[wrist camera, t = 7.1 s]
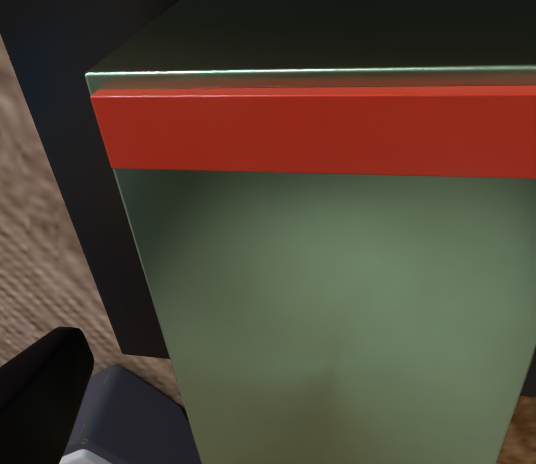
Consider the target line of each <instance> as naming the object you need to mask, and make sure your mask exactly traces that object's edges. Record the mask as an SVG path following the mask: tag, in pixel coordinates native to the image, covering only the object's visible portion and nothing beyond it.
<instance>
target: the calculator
mask: <svg viewBox="0 0 536 464" xmlns="http://www.w3.org/2000/svg"><path fill="white" fill-rule="evenodd" d="M59 464H202V463H201V459H200V456H199V453H198V449H197V446H196V443H195V440H194V436H193V433H192V430H191V426H190V424H189V423H188V421H187V419H186V417H185V415H184V413H183V411H182V409H181V407H180V406H179V405H178V404H177V403H175V402H174V401H172V400H171V399H169V398H168V397H166V396H165V395H163V394H162V393H160V392H159V391H157V390H156V389H154V388H153V387H152V386H150V385H149V384H147V383H146V382H144V381H143V380H141V379H140V378H138V377H137V376H135V375H134V374H132V373H131V372H129V371H128V370H126V369H125V368H123V367H121V366H117V365H113V366H110V367H108V368H106V369H104V370H103V371H101V372H99V373H97V374H95V375H93V376H92V377H90V380H89V383H88V386H87V389H86V392H85V395H84V398H83V401H82V404H81V407H80V410H79V413H78V415H77V418H76V421H75V424H74V427H73V430H72V433H71V436H70V439H69V441H68V444H67V447H66V449H65V452H64V454H63V456H62V459H61V461H60V463H59Z"/></svg>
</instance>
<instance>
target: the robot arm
mask: <svg viewBox="0 0 536 464" xmlns="http://www.w3.org/2000/svg"><path fill="white" fill-rule="evenodd" d="M93 367H94V358H93V354H92V352H91V350H90V347H89V345H88V343H87V340H86V338H85V336H84V334H83V332H82V331H81V330H80V329H79V328H73V327H57V328H55V329H54V330H52V331H51V332H49V333H48V334H46V335H45V336H44V337H42V338H41V339H39V340H38V341H36V342H35V343H34V344H32V345H31V346H29V347H28V348H27V349H25V350H24V351H22V352H21V353H20V354H18V355H17V356H15V357H14V358H12V359H11V360H10V361H8V362H7V363H5V364H4V365H3V366H1V367H0V464H59V463H60V461H61V459H62V456H63V454H64V452H65V449H66V447H67V444H68V441H69V439H70V436H71V433H72V430H73V427H74V424H75V421H76V418H77V415H78V413H79V410H80V407H81V404H82V401H83V398H84V395H85V392H86V389H87V386H88V383H89V380H90V377H91V374H92V371H93Z"/></svg>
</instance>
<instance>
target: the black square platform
mask: <svg viewBox="0 0 536 464" xmlns="http://www.w3.org/2000/svg"><path fill="white" fill-rule="evenodd" d="M179 1H180V0H0V34H1V37H2V39H3V42H4V45H5V47H6V50H7V52H8V55H9V58H10V60H11V63H12V66H13V68H14V71H15V73H16V76H17V79H18V81H19V84H20V87H21V89H22V92H23V94H24V97H25V100H26V102H27V105H28V108H29V110H30V113H31V115H32V118H33V121H34V123H35V126H36V129H37V131H38V134H39V136H40V139H41V142H42V144H43V147H44V149H45V152H46V155H47V157H48V160H49V163H50V165H51V168H52V170H53V173H54V176H55V178H56V181H57V184H58V186H59V189H60V191H61V194H62V197H63V199H64V202H65V205H66V207H67V210H68V212H69V215H70V218H71V220H72V223H73V226H74V228H75V231H76V233H77V236H78V239H79V241H80V244H81V246H82V249H83V252H84V254H85V257H86V260H87V262H88V265H89V267H90V270H91V273H92V275H93V278H94V281H95V283H96V286H97V288H98V291H99V294H100V296H101V299H102V302H103V304H104V307H105V309H106V312H107V315H108V317H109V320H110V323H111V325H112V328H113V330H114V333H115V336H116V338H117V341H118V343H119V346H120V349H121V351H122V353H123V354H128V355H137V356H147V357H156V358H166V359H170V357H169V353H168V350H167V347H166V343H165V340H164V337H163V333H162V330H161V327H160V324H159V320H158V317H157V314H156V310H155V307H154V304H153V300H152V297H151V294H150V290H149V287H148V284H147V280H146V277H145V274H144V271H143V267H142V264H141V261H140V257H139V254H138V251H137V247H136V244H135V241H134V237H133V234H132V231H131V227H130V224H129V221H128V217H127V214H126V211H125V208H124V204H123V201H122V198H121V194H120V191H119V188H118V184H117V181H116V178H115V174H114V171H113V168H112V167H111V164H110V161H109V158H108V155H107V151H106V148H105V145H104V141H103V138H102V135H101V131H100V128H99V125H98V122H97V118H96V115H95V112H94V108H93V105H92V102H91V98H90V97H91V95H90V92H89V88H88V85H87V82H86V78H85V73H86V72H87V71H88V70H89V69H91V68H92V67H93V66H95V65H96V64H97V63H99V62H100V61H101V60H103V59H104V58H105V57H107V56H108V55H109V54H110V53H112V52H113V51H114V50H116V49H117V48H118V47H120V46H121V45H122V44H124V43H125V42H126V41H128V40H129V39H130V38H132V37H133V36H134V35H135V34H137V33H138V32H139V31H141V30H142V29H143V28H145V27H146V26H147V25H149V24H150V23H151V22H153V21H154V20H155V19H157V18H158V17H159V16H161V15H162V14H163V13H164V12H166V11H167V10H168V9H170V8H171V7H172V6H174V5H175V4H176V3H178V2H179ZM520 396H530V397H536V350H535V353H534V356H533V359H532V362H531V365H530V368H529V370H528V373H527V376H526V379H525V382H524V385H523V388H522V390H521V393H520Z"/></svg>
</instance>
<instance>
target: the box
mask: <svg viewBox="0 0 536 464" xmlns="http://www.w3.org/2000/svg"><path fill="white" fill-rule="evenodd" d="M85 78H86V82H87V85H88V88H89V92H90V95H91V97H90V98H91V102H92V105H93V108H94V112H95V115H96V118H97V122H98V125H99V128H100V131H101V135H102V138H103V141H104V145H105V148H106V151H107V155H108V158H109V161H110V164H111V167H112V168H113V171H114V174H115V178H116V181H117V184H118V188H119V191H120V194H121V198H122V201H123V204H124V208H125V211H126V214H127V217H128V221H129V224H130V227H131V231H132V234H133V237H134V241H135V244H136V247H137V251H138V254H139V257H140V261H141V264H142V267H143V271H144V274H145V277H146V280H147V284H148V287H149V290H150V294H151V297H152V300H153V304H154V307H155V310H156V314H157V317H158V320H159V324H160V327H161V330H162V333H163V337H164V340H165V343H166V347H167V350H168V353H169V357H170V360H171V363H172V367H173V370H174V373H175V377H176V380H177V383H178V387H179V390H180V393H181V396H182V400H183V403H184V406H185V410H186V413H187V416H188V420H189V423H190V426H191V430H192V433H193V436H194V440H195V443H196V446H197V449H198V453H199V456H200V459H201V463H202V464H496V462H497V459H498V456H499V454H500V451H501V448H502V445H503V442H504V439H505V436H506V434H507V431H508V428H509V425H510V422H511V419H512V416H513V413H514V411H515V408H516V405H517V402H518V399H519V396H520V393H521V390H522V388H523V385H524V382H525V379H526V376H527V373H528V370H529V368H530V365H531V362H532V359H533V356H534V353H535V350H536V0H180V1H179V2H178V3H176V4H175V5H174V6H172V7H171V8H170V9H168V10H167V11H166V12H164V13H163V14H162V15H161V16H159V17H158V18H157V19H155V20H154V21H153V22H151V23H150V24H149V25H147V26H146V27H145V28H143V29H142V30H141V31H139V32H138V33H137V34H135V35H134V36H133V37H132V38H130V39H129V40H128V41H126V42H125V43H124V44H122V45H121V46H120V47H118V48H117V49H116V50H114V51H113V52H112V53H110V54H109V55H108V56H107V57H105V58H104V59H103V60H101V61H100V62H99V63H97V64H96V65H95V66H93V67H92V68H91V69H89V70H88V71H87V72H86V73H85Z"/></svg>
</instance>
